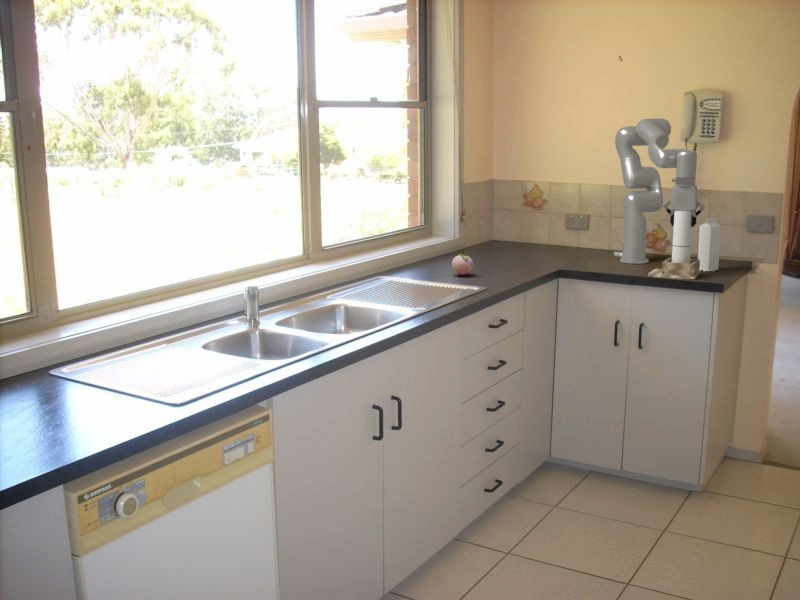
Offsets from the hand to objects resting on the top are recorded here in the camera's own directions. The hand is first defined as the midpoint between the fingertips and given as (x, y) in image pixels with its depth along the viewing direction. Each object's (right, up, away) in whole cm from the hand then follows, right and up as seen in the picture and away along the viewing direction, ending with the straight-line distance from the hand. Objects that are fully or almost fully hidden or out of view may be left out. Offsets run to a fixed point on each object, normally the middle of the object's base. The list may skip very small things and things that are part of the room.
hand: (682, 225), depth 346 cm
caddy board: (-2, -20, +5) cm, 21 cm away
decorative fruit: (-88, -20, +11) cm, 91 cm away
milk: (+16, -18, +16) cm, 29 cm away
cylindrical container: (0, -19, +4) cm, 19 cm away
